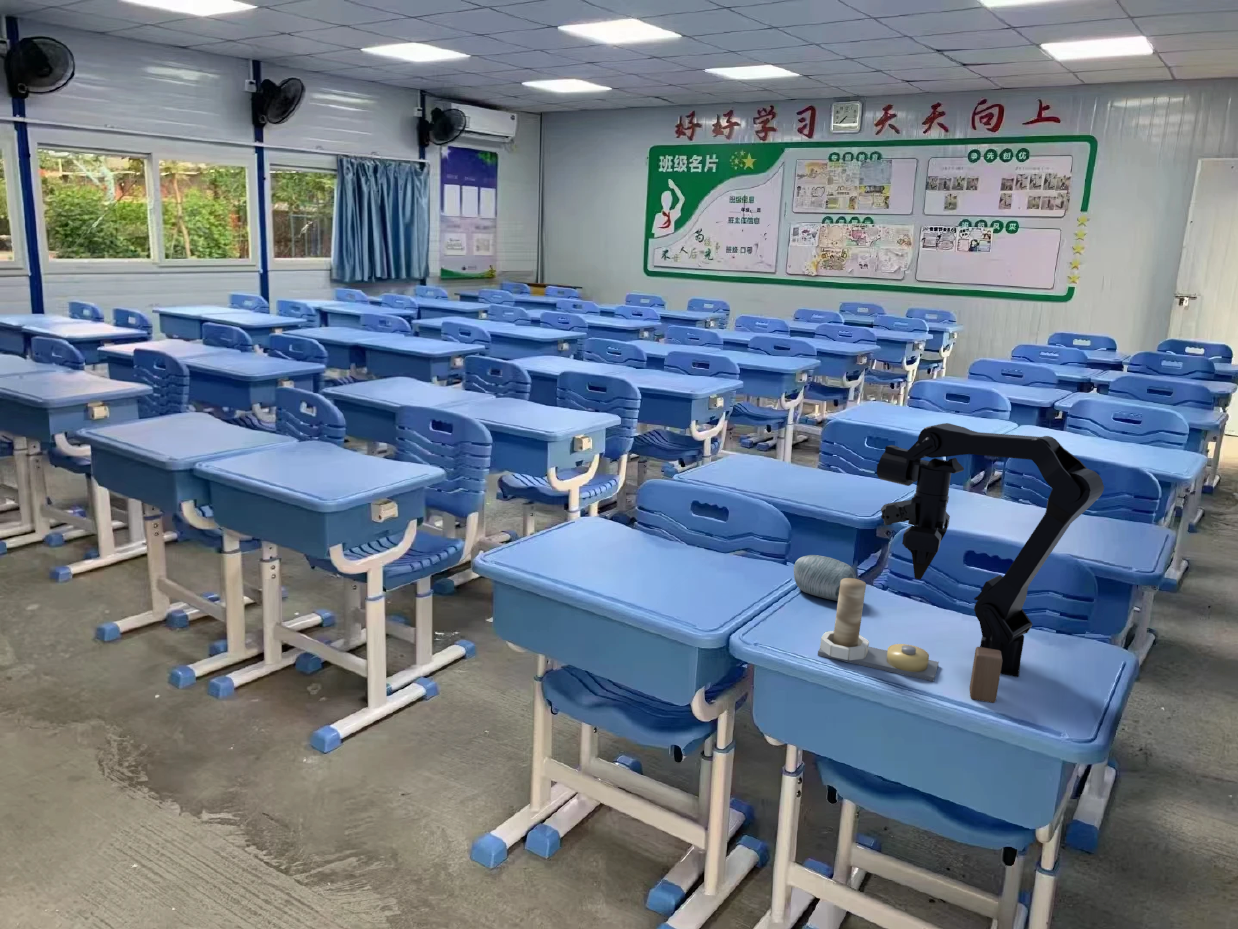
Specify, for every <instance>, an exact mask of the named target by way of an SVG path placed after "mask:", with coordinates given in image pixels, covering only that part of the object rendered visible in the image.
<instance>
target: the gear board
mask: <svg viewBox="0 0 1238 929" xmlns="http://www.w3.org/2000/svg"><path fill="white" fill-rule="evenodd" d="M833 635H834V630H829V631H828V630H827V631H826V632H824V633H823V634H822V636H821V637H820V644H819V649H818V650H817V656H819V657H822V658H823V657H824V658H828V659H833V660H837V661H842V662H846V663H850V664H854V665H859V666H864V667H867V668H870V669H871V668H872V669H876V670H881V671H885V672H890V673H894V674H898V675H903V676H907V677H911V676H912V678H916V679H920V680H924V681H930V682H934V681H935V677H936V674H937V671H938V667H939V663H940V662H939V661H937V660H932V659H930V654H929V653H928V651H927V650H925V649H923V648H921V647H919V646H916V645H912V644H906V643H896V644H895V643H894V644H892V645H889V646H888V648H887V650H886V649H882V648H877V647H872V646H870V641H869V640H868V639H867V638H865V637H863V636H862V635H861V634H859V639H858V646H856V647H845V646H840V645H836V644H834V643H833Z"/></svg>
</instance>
